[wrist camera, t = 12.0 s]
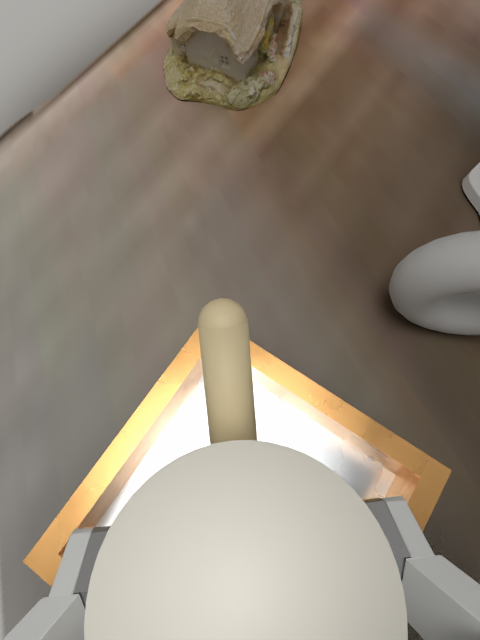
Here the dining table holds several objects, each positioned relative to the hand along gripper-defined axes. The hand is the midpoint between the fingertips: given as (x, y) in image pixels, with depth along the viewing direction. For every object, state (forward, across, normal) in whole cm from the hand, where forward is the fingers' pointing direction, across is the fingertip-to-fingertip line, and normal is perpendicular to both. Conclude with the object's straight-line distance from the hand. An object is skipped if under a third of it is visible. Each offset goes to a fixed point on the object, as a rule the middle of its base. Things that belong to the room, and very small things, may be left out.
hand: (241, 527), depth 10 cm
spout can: (+4, 0, +3) cm, 5 cm away
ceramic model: (+38, -3, -15) cm, 41 cm away
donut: (+19, -15, +4) cm, 25 cm away
